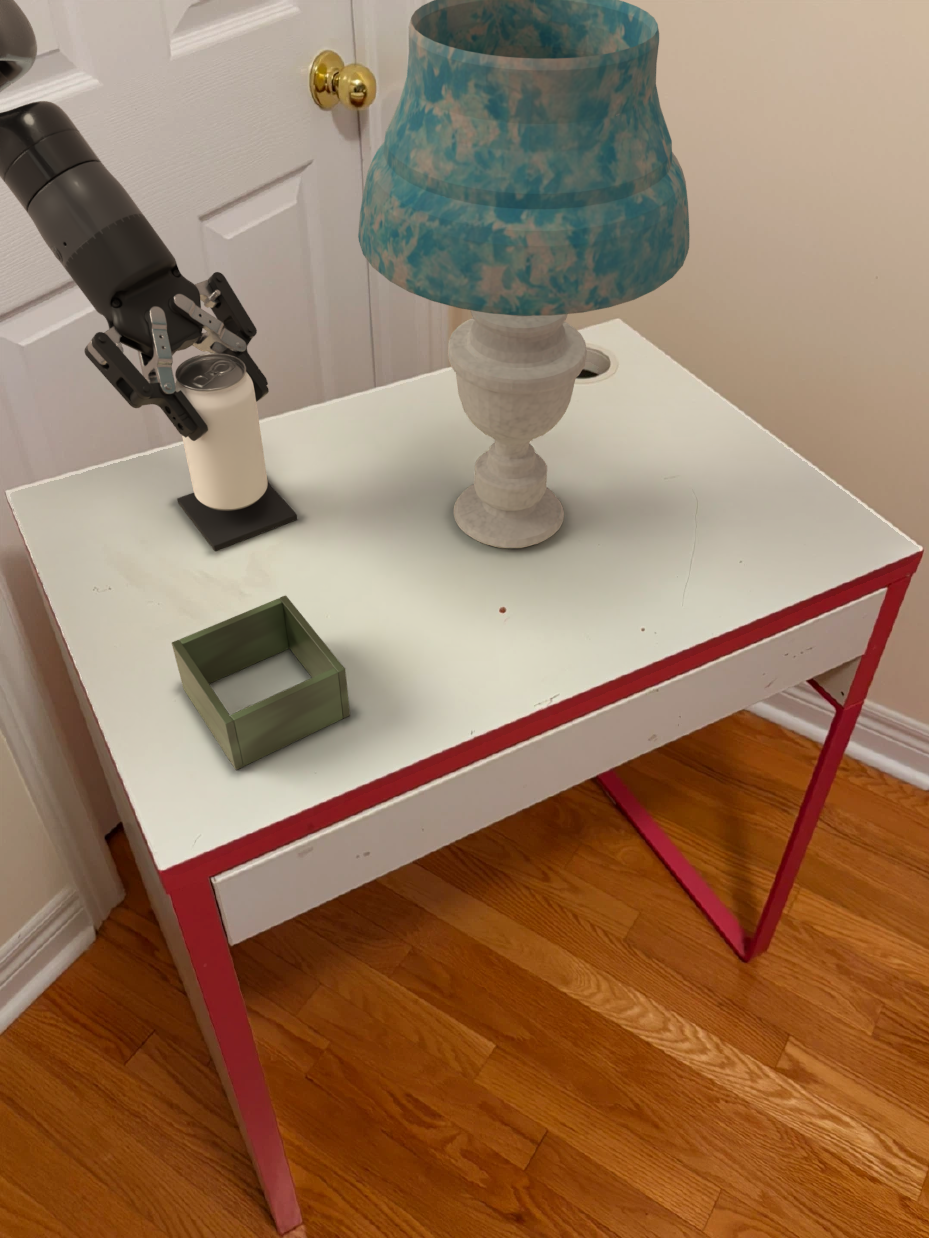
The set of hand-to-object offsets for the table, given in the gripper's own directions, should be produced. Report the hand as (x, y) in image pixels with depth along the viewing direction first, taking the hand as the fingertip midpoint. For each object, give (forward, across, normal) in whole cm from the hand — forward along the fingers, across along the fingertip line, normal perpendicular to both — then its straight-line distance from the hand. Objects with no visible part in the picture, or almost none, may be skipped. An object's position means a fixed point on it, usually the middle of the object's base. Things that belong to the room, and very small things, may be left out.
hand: (232, 415), depth 86 cm
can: (+5, 0, +7) cm, 9 cm away
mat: (+7, 0, +9) cm, 11 cm away
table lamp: (+21, +14, -6) cm, 26 cm away
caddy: (+19, -15, -4) cm, 25 cm away
